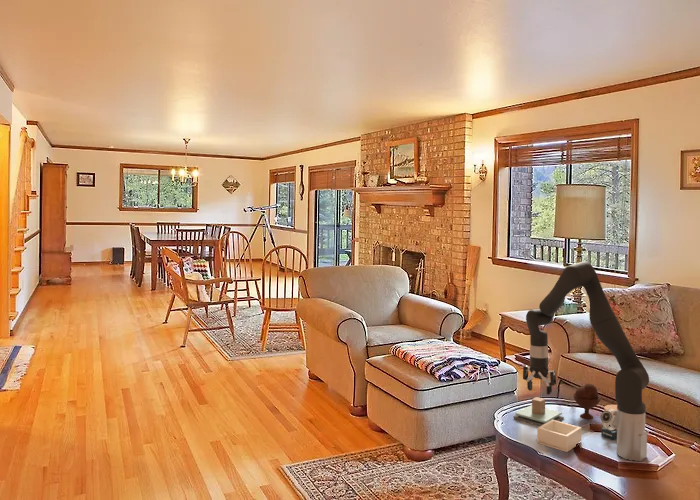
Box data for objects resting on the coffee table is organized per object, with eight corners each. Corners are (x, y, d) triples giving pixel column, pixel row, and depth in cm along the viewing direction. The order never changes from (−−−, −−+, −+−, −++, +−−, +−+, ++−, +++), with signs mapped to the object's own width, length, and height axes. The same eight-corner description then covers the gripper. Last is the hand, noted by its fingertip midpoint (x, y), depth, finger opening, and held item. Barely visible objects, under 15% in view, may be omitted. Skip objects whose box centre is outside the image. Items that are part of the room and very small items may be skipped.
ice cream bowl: (595, 412, 254) (595, 379, 253) (603, 422, 243) (604, 387, 242) (570, 412, 256) (570, 379, 254) (577, 421, 244) (578, 387, 243)
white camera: (633, 425, 240) (634, 403, 239) (630, 434, 231) (631, 411, 230) (605, 420, 245) (606, 399, 245) (601, 429, 236) (602, 406, 236)
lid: (561, 416, 248) (561, 398, 248) (545, 425, 239) (545, 407, 238) (531, 408, 258) (532, 391, 258) (515, 416, 249) (515, 399, 248)
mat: (563, 419, 248) (563, 416, 248) (547, 428, 238) (547, 426, 238) (529, 410, 259) (529, 407, 259) (513, 418, 250) (513, 416, 250)
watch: (597, 436, 229) (598, 409, 228) (611, 432, 233) (612, 406, 232) (609, 441, 224) (610, 414, 223) (623, 437, 228) (624, 410, 227)
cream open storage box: (581, 442, 224) (581, 427, 223) (566, 452, 215) (567, 436, 215) (552, 433, 232) (552, 419, 232) (537, 442, 224) (537, 427, 224)
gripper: (558, 356, 244) (559, 393, 245) (528, 350, 254) (528, 386, 255) (550, 359, 239) (550, 397, 240) (519, 354, 249) (519, 390, 250)
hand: (539, 392), depth 248 cm, fingers open, 8 cm apart
